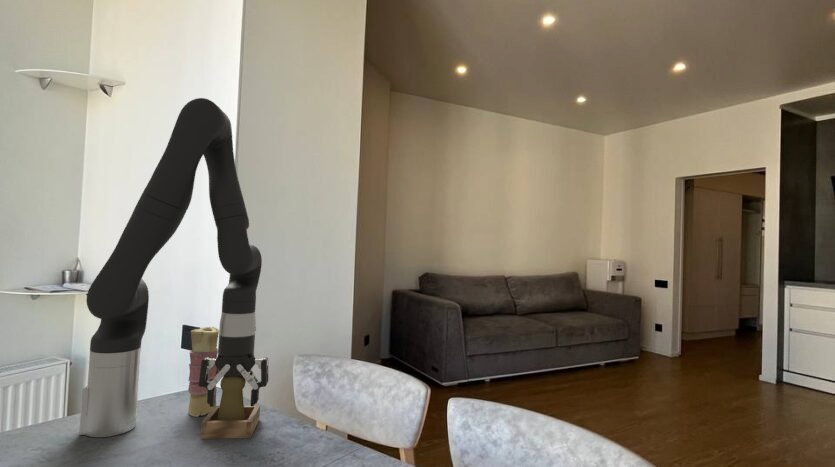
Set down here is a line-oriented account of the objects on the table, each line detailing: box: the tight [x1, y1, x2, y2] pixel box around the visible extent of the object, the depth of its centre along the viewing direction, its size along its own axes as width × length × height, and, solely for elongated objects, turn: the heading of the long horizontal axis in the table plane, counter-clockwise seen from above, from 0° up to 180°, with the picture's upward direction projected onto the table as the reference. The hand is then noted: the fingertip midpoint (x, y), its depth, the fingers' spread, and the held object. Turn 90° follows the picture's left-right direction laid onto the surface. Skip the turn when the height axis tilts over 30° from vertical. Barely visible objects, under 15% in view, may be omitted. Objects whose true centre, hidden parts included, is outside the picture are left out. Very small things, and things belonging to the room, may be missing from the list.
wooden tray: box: [200, 404, 261, 440], centre depth 99 cm, size 10×10×3 cm
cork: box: [217, 377, 247, 421], centre depth 100 cm, size 6×6×11 cm
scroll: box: [187, 326, 220, 418], centre depth 109 cm, size 8×8×20 cm
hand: (233, 405), depth 100 cm, fingers open, 8 cm apart
